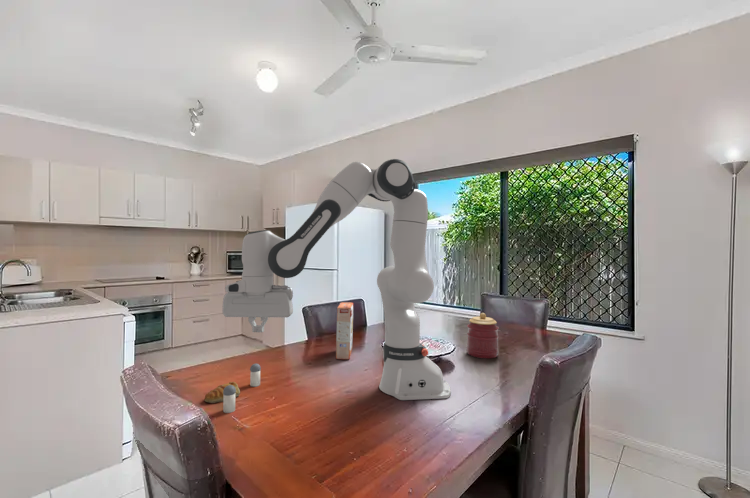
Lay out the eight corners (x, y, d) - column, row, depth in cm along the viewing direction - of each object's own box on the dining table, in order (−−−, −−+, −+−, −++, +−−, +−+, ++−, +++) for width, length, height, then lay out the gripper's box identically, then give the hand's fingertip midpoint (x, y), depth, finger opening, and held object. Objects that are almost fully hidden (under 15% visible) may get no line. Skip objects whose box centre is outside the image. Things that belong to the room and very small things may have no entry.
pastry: (211, 407, 99) (212, 393, 99) (199, 401, 103) (199, 387, 103) (242, 396, 107) (242, 383, 107) (229, 390, 111) (229, 378, 111)
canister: (464, 349, 159) (465, 309, 159) (494, 350, 158) (495, 310, 158) (468, 358, 147) (469, 315, 146) (501, 360, 145) (502, 316, 145)
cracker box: (350, 360, 141) (351, 307, 141) (335, 359, 141) (336, 307, 141) (353, 349, 155) (353, 301, 155) (339, 349, 155) (340, 301, 155)
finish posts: (262, 383, 116) (262, 362, 116) (232, 413, 95) (232, 388, 95) (252, 382, 117) (252, 362, 117) (220, 412, 95) (220, 387, 95)
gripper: (295, 284, 108) (295, 329, 108) (229, 283, 109) (230, 329, 109) (289, 286, 102) (289, 335, 102) (219, 286, 103) (219, 334, 103)
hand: (258, 331), depth 106 cm, fingers closed
